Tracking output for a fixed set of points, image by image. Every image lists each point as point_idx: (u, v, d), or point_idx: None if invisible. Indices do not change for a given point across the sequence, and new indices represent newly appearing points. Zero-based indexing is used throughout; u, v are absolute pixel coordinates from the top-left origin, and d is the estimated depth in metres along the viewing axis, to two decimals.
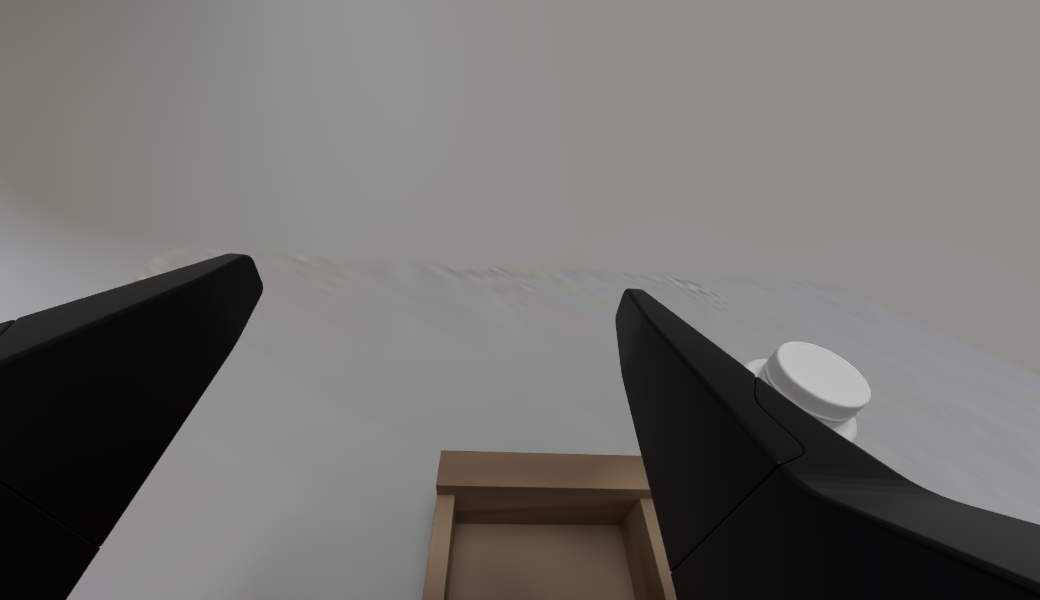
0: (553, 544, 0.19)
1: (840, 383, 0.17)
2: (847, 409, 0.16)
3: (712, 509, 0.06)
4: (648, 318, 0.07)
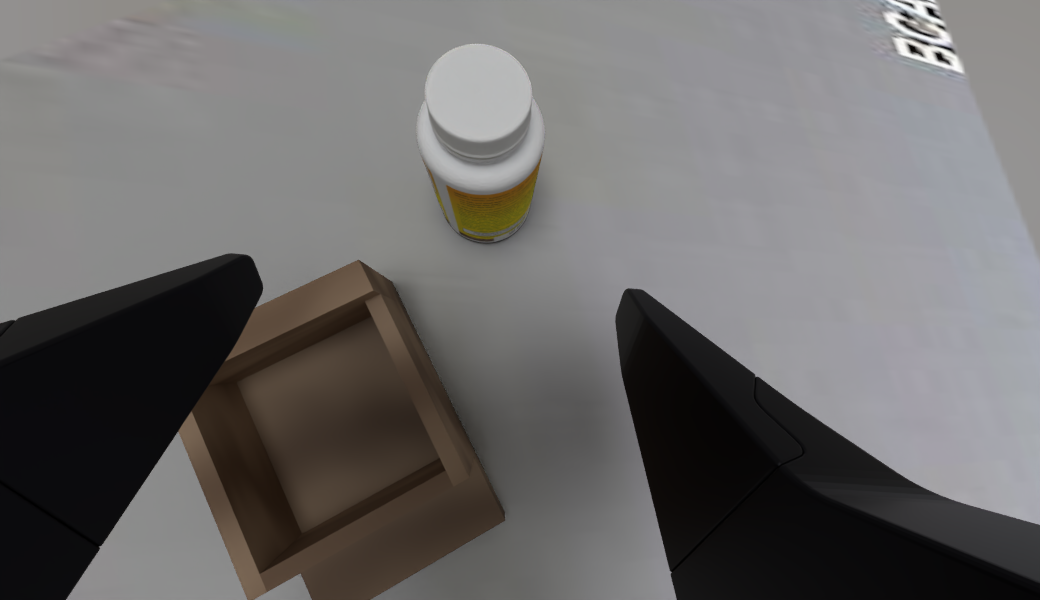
0: (331, 353, 0.21)
1: (496, 103, 0.13)
2: (501, 140, 0.13)
3: (712, 509, 0.06)
4: (648, 318, 0.07)
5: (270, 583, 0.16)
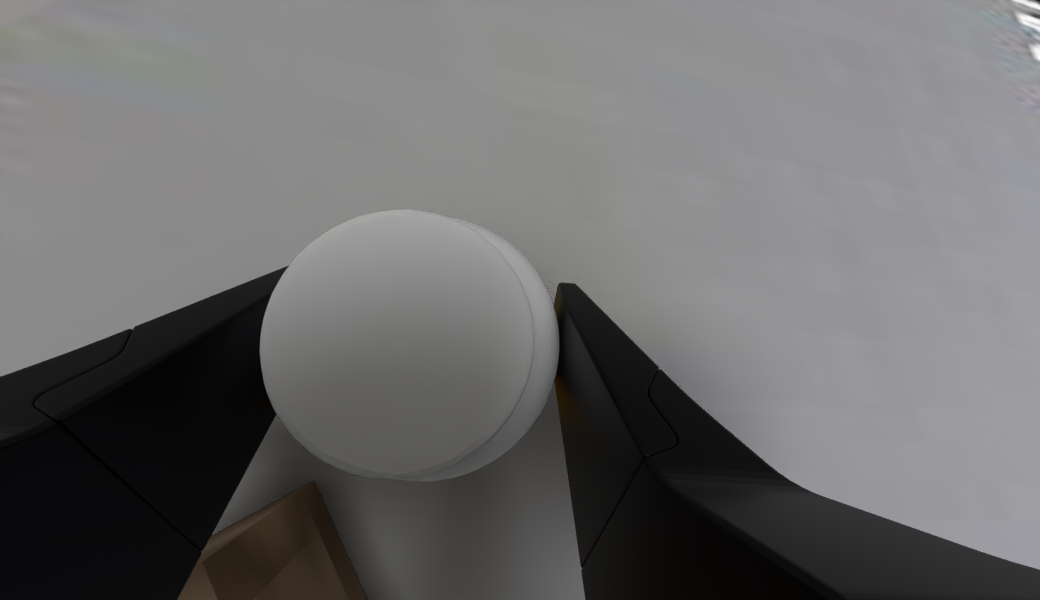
0: None
1: (444, 370, 0.05)
2: (456, 463, 0.05)
3: (605, 503, 0.05)
4: (569, 311, 0.07)
5: None
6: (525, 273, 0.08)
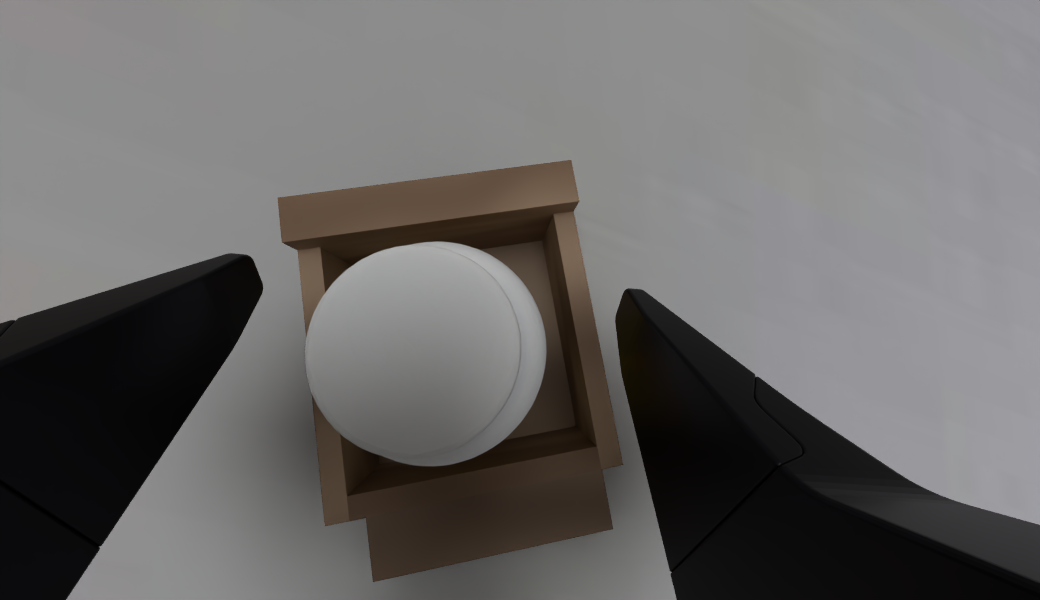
0: None
1: (449, 373, 0.07)
2: (459, 446, 0.07)
3: (712, 509, 0.06)
4: (648, 318, 0.07)
5: (356, 512, 0.12)
6: (517, 291, 0.09)
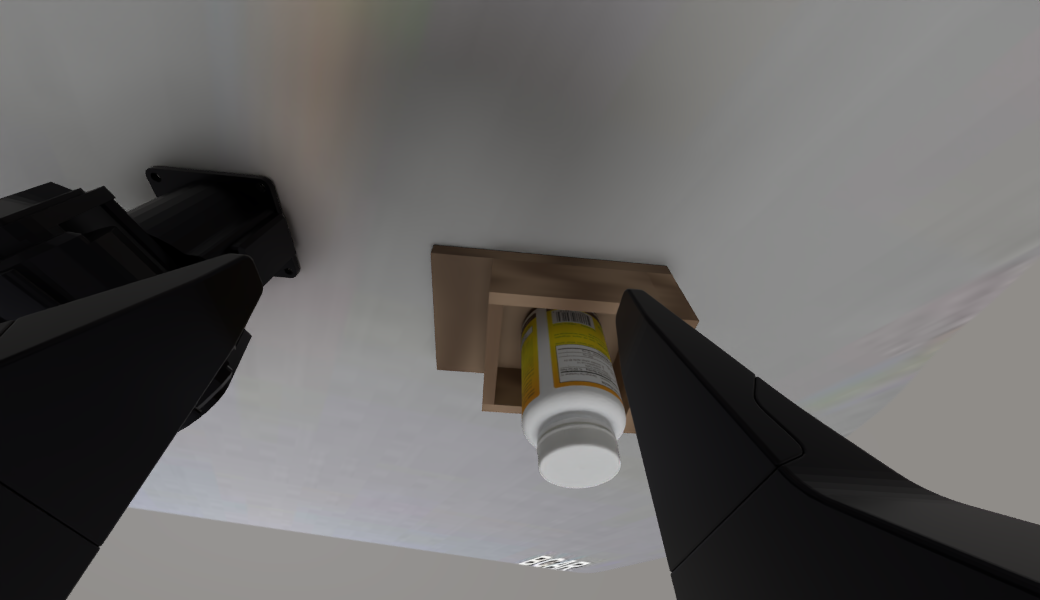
0: (609, 339, 0.26)
1: (566, 474, 0.18)
2: None
3: (712, 509, 0.06)
4: (648, 318, 0.07)
5: (492, 307, 0.20)
6: None
